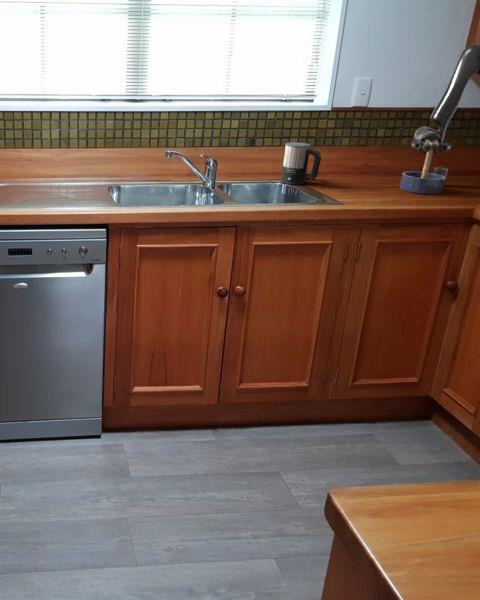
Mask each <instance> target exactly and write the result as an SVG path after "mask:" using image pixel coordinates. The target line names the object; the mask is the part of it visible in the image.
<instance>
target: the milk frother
mask: <svg viewBox="0 0 480 600" xmlns="http://www.w3.org/2000/svg"><path fill="white" fill-rule="evenodd" d="M310 147H311V144H309V143H305V142H285V150H284V156H283V165H282V171H281V177H280V180H279V182H280V183H283V184H287V185H304V184H305V181H306V180H309V179H311V180H316V178H317V177H318V175H319V171H320V170H319V169H320V165H321V162H322V155H321V153H320V151H318V149H314V148H310ZM310 155H311V156H313V159H314V160H313V164H312V168H311V172H307V171H308V165H309V157H310Z"/></svg>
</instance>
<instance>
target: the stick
mask: <svg viewBox="0 0 480 600" xmlns="http://www.w3.org/2000/svg"><path fill="white" fill-rule="evenodd" d="M434 145H435V142H430V143H429V150H428V152H427V154H425V160H424V163H423V168H422V171H421V172H422V176H421V178H424V179H426V178H427V174H428V173H429V169H430V166H431V161H432V158H433V149H434Z"/></svg>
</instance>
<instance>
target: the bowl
mask: <svg viewBox="0 0 480 600" xmlns="http://www.w3.org/2000/svg"><path fill="white" fill-rule="evenodd" d="M422 172H423V171H404V172H402V174H401V178H400V183H399V189H400V190H402V191H405V192H408V193H409V192H411V193H413V194H414V193H416V195H422V194H424V196H430V195H439V194H442V193H443V190H444V186H445V183H446V179H445V177H444V176H442V175H438V174H433V172H428V174H427V178H426V179H424V178H421V176H422ZM444 182H445V183H444Z"/></svg>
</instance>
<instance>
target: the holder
mask: <svg viewBox="0 0 480 600" xmlns="http://www.w3.org/2000/svg"><path fill="white" fill-rule="evenodd" d="M448 172H449V169H448V168H445V167H434V168H433V172H432V173H433V174H438V175H442V176H444V177H445V180H446V179H447V175H448ZM445 183H446V181H445V182H444V184H445Z"/></svg>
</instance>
